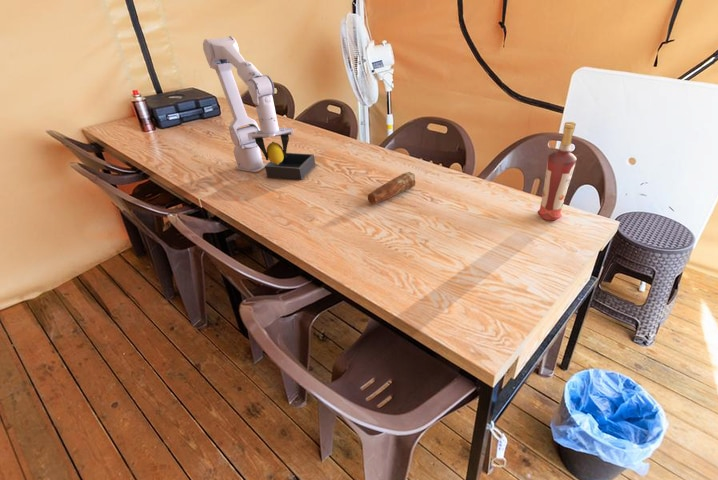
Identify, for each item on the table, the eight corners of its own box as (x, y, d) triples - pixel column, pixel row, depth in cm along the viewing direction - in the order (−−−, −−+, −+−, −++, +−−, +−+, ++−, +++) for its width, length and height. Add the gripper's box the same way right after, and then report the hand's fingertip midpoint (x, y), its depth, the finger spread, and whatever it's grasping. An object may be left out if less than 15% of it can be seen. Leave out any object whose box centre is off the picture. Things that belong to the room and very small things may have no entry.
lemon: (281, 168, 136) (277, 145, 131) (266, 167, 137) (261, 144, 132) (288, 161, 141) (284, 139, 136) (273, 161, 141) (268, 138, 137)
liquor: (557, 226, 117) (581, 129, 100) (532, 219, 120) (552, 125, 103) (564, 215, 122) (588, 121, 105) (540, 209, 125) (559, 117, 108)
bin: (267, 177, 148) (264, 166, 146) (283, 163, 159) (281, 152, 156) (301, 180, 146) (299, 168, 143) (315, 165, 156) (313, 154, 154)
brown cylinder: (417, 189, 138) (417, 173, 135) (374, 208, 128) (373, 192, 124) (404, 183, 142) (404, 168, 138) (362, 201, 131) (361, 186, 128)
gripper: (244, 123, 124) (254, 165, 133) (291, 118, 128) (298, 159, 136) (243, 117, 130) (254, 157, 138) (289, 112, 133) (296, 151, 141)
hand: (276, 157), depth 137 cm, fingers closed on lemon, 5 cm apart
